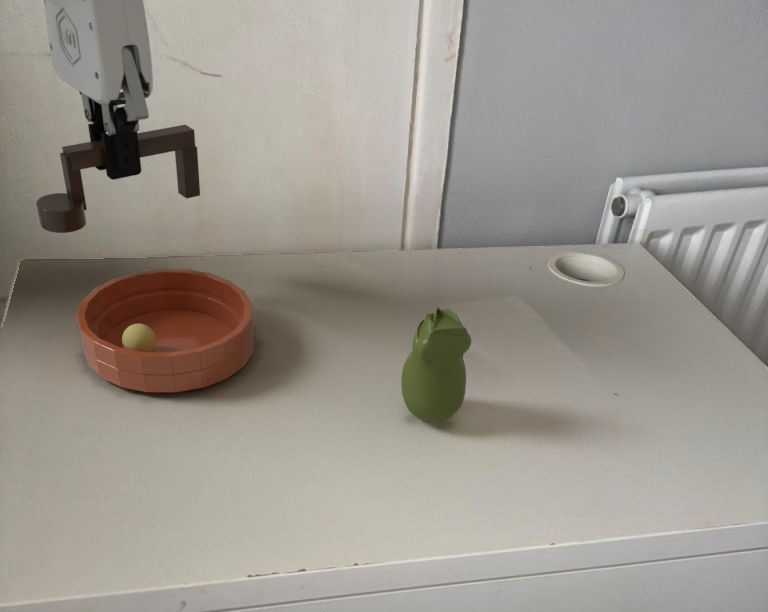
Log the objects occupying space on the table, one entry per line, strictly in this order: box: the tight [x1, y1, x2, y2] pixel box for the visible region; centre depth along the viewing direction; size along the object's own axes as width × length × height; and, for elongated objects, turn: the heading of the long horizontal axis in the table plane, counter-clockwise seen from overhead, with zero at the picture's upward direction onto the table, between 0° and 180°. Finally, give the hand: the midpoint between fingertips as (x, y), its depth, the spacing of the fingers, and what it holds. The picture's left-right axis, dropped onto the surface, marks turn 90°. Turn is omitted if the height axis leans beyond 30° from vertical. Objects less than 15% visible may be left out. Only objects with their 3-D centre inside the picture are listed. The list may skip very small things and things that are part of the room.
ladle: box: [35, 124, 201, 234], centre depth 77 cm, size 16×4×6 cm, turn 131°
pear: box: [400, 306, 472, 423], centre depth 70 cm, size 6×5×10 cm
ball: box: [122, 324, 157, 352], centre depth 75 cm, size 3×3×3 cm
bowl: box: [75, 268, 255, 393], centre depth 77 cm, size 15×15×4 cm
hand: (118, 170), depth 77 cm, fingers closed on ladle
